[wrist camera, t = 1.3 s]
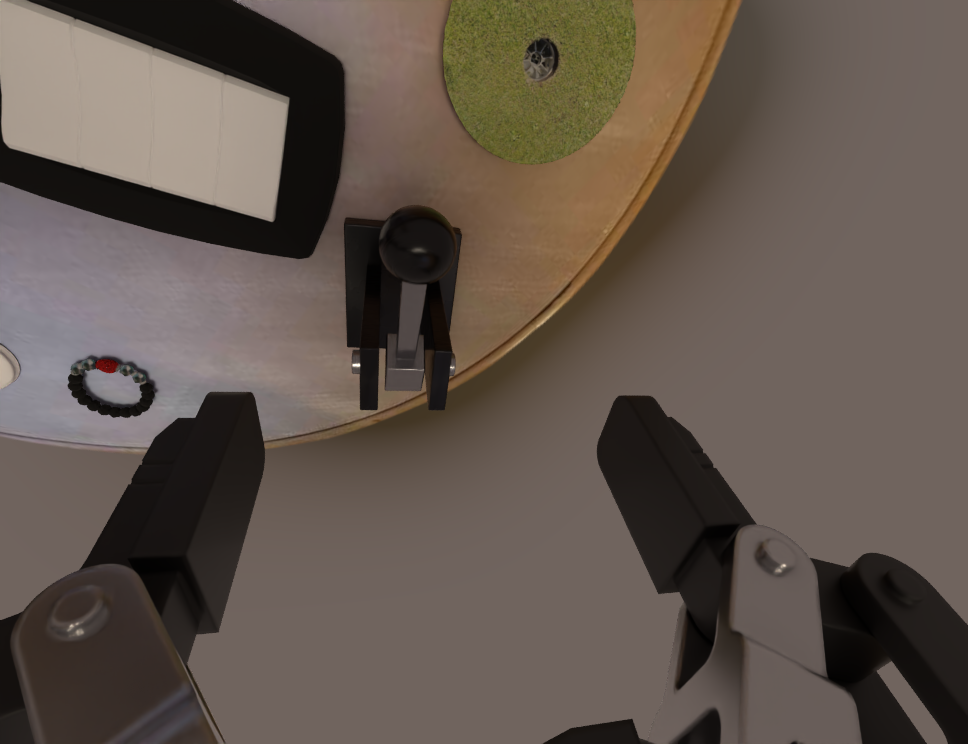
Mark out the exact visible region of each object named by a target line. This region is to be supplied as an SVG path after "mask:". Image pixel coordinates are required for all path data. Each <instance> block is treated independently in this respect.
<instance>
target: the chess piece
mask: <svg viewBox="0 0 968 744" xmlns="http://www.w3.org/2000/svg"><path fill="white" fill-rule="evenodd" d="M19 373H20V367H19V364H18V361H17V360H16V358H15V357H14V356H13V354H12V353H11V352H10V351H9V350H7V349H6V348H5V347H4V346H2V345H1V344H0V389H2V388H5V387H6V386H8V385H9V384H11V383H12V382H14V381H15V380H16V379H17V378H18V376H19Z"/></svg>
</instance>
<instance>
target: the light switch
mask: <svg viewBox="0 0 968 744" xmlns="http://www.w3.org/2000/svg"><path fill="white" fill-rule="evenodd" d="M344 130H345V119H344V70H343V67H342V63H341V62H340V61H339V60H338V59H337V58H336V57H335V56H334V55H332V54H330V53H329V52H327V51H325V50H323V49H322V48H320V47H318V46H316V45H315V44H313V43H311V42H310V41H308V40H306V39H304V38H303V37H301V36H299V35H297V34H296V33H294V32H292V31H290V30H289V29H287V28H285V27H283V26H281V25H279V24H277V23H275V22H273V21H271V20H269V19H267V18H265V17H264V16H262V15H260V14H258V13H256V12H254V11H252V10H250V9H248V8H246V7H244V6H242V5H240V4H238V3H236V2H234V1H232V0H0V182H2V183H5V184H8V185H10V186H13V187H16V188H19V189H22V190H24V191H27V192H30V193H33V194H36V195H39V196H41V197H45V198H48V199H51V200H54V201H57V202H60V203H64V204H67V205H70V206H73V207H76V208H80V209H83V210H86V211H89V212H92V213H95V214H99V215H102V216H105V217H108V218H112V219H116V220H119V221H123V222H127V223H130V224H134V225H137V226H141V227H145V228H148V229H152V230H155V231H159V232H163V233H167V234H172V235H176V236H180V237H185V238H189V239H193V240H197V241H202V242H206V243H210V244H215V245H221V246H226V247H231V248H236V249H241V250H246V251H252V252H257V253H262V254H269V255H276V256H283V257H289V258H296V259H303V258H309V257H310V256H311V255H312V254H313V252H314V249H315V247H316V245H317V242H318V240H319V238H320V235H321V233H322V231H323V228H324V226H325V224H326V221H327V219H328V216H329V212H330V209H331V205H332V201H333V198H334V194H335V190H336V187H337V183H338V179H339V174H340V165H341V156H342V148H343V139H344Z"/></svg>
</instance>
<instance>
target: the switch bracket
mask: <svg viewBox="0 0 968 744" xmlns="http://www.w3.org/2000/svg"><path fill="white" fill-rule="evenodd" d="M384 223H385V221H374V220H364V219H353V218H346V219H345V223H344V240H345V279H346V319H347V347H356V348H360V350H353V351H352V373H353V374H360V410H377V409H378V376H379V348H385V349H386V335H387V334H397V327H398V314H399V302H400V290H401V280H399V279H398V278H396V277H395V276H393V275H392V274H391V273H390V272H389V271H388V269H387V268H386V266H385V265H384V263H383V261H382V259H381V256H380V252H379V235H380V232H381V229H382V227H383V225H384ZM453 230H454V233H455V236H456V242H457V251H456V257H455V260H454V262H453V265H452V266H451V268H450V270H449V271H448V272H447V273H446V274H445V275H444V276H443V277H442V278H440V279H439V280H437V281H435V282H433V283H430V284H427V288H426V294H425V301H424V307H423V313H422V320H421V326H420V333H419V335H424V340H425V380H426V390H427V399H428V408H429V410H445V404H446V397H447V389H448V382H449V376H454V373H455V354H454V353H453V351H452V346H451V341H450V335H449V332H450V324H451V316H452V309H453V301H454V293H455V285H456V277H457V269H458V261H459V253H460V246H461V238H462V234H461V231H460V229H459V228H453Z"/></svg>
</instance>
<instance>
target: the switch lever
mask: <svg viewBox="0 0 968 744" xmlns="http://www.w3.org/2000/svg"><path fill="white" fill-rule="evenodd" d="M456 251H457V242H456V236H455V233H454V230H453V228H452V226H451V225H450V223H449V222H448V220H447V219H446V218H445V217H444V216H443V215H442V214H441V213H439V212H438V211H436V210H434V209H432V208H430V207H427V206H422V205H410V206H406V207H403V208H400V209H398V210H397V211H395V212H394V213H392V214H391V215H390V216H389V217H388V219H387V220H386V221H385V223H384V225H383V227H382V229H381V232H380V235H379V252H380V256H381V259H382V261H383V263H384V265H385V266H386V268H387V269H388V271H389V272H390V273H391V274H392V275H393V276H395V277H396V278H398V279H399V280H401V290H400V302H399V314H398V327H397V334H387V335H386V356H385V390H387V391H421V388H422V383H423V378H424V373H425V340H424V335H419V333H420V326H421V320H422V313H423V307H424V301H425V294H426V288H427V284H430V283H433V282H435V281H437V280H439V279H440V278H442V277H443V276H444V275H445V274H446V273H447V272H448V271H449V270H450V268H451V266H452V265H453V262H454V260H455V257H456Z"/></svg>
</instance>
